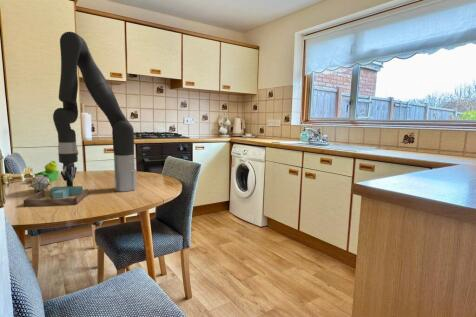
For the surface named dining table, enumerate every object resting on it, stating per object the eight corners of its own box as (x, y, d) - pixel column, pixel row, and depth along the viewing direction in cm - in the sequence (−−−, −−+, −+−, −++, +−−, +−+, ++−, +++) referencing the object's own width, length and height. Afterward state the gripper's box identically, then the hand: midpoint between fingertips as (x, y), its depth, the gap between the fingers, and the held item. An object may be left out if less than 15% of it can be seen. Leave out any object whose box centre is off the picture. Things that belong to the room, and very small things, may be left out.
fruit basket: (45, 179, 159) (44, 159, 158) (62, 179, 160) (61, 159, 159) (33, 184, 148) (31, 162, 146) (51, 184, 149) (50, 162, 147)
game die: (38, 199, 133) (21, 185, 127) (40, 189, 140) (24, 175, 134) (56, 189, 135) (40, 175, 128) (57, 180, 141) (42, 165, 135)
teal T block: (82, 192, 133) (82, 186, 133) (73, 198, 123) (73, 192, 122) (54, 193, 131) (54, 186, 131) (42, 199, 121) (42, 192, 120)
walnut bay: (88, 194, 130) (88, 189, 129) (76, 204, 115) (76, 198, 115) (42, 196, 126) (41, 190, 126) (23, 206, 111) (23, 200, 111)
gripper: (71, 153, 126) (73, 192, 128) (81, 150, 138) (83, 185, 141) (52, 153, 124) (55, 192, 127) (64, 150, 137) (67, 185, 139)
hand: (70, 188), depth 134 cm, fingers closed
